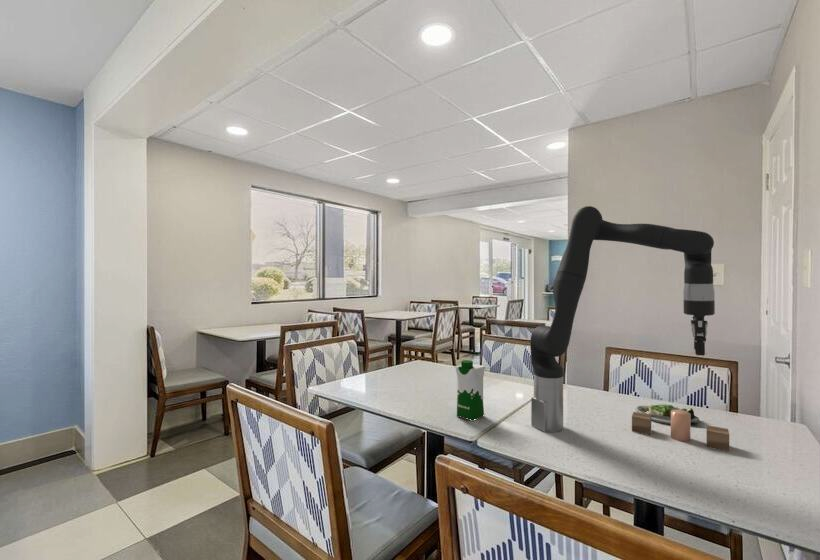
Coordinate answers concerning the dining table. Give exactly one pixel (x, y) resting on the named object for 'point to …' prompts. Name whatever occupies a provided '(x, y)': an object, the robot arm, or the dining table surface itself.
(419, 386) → the dining table surface
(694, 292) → the robot arm
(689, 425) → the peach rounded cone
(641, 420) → the back walnut cube
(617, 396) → the dining table surface
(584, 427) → the dining table surface
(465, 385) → the milk carton
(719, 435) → the front walnut cube
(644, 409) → the salad plate
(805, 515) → the dining table surface
